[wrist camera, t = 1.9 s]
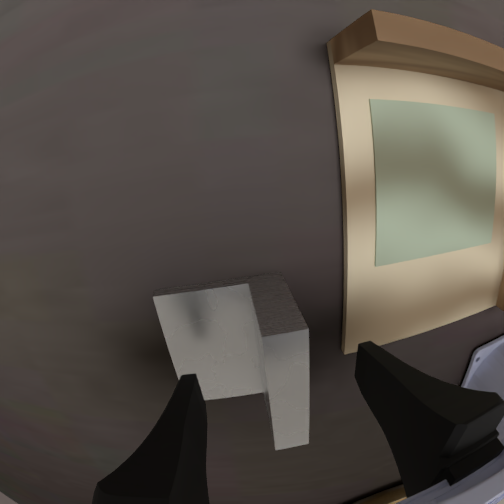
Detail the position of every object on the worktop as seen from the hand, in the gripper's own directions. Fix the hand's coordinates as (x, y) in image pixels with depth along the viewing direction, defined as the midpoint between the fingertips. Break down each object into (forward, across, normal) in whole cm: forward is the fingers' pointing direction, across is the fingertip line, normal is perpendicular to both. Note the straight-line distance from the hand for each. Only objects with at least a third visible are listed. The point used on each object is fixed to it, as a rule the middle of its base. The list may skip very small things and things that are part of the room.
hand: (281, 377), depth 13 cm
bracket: (+4, +2, 0) cm, 4 cm away
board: (+3, -11, -6) cm, 13 cm away
